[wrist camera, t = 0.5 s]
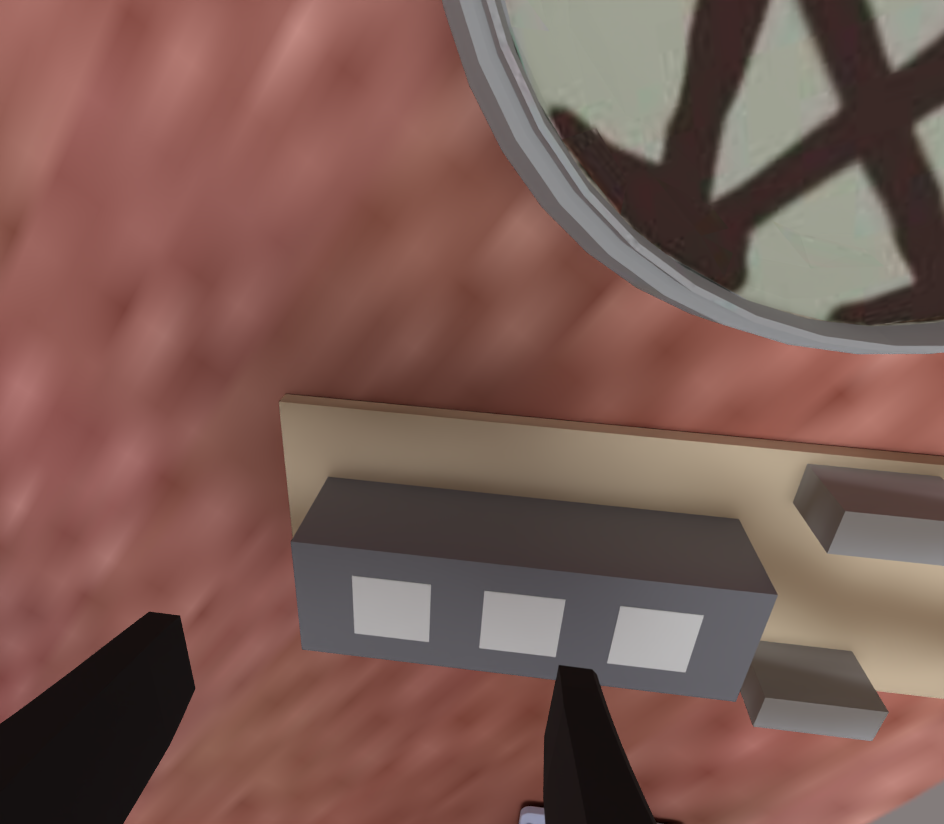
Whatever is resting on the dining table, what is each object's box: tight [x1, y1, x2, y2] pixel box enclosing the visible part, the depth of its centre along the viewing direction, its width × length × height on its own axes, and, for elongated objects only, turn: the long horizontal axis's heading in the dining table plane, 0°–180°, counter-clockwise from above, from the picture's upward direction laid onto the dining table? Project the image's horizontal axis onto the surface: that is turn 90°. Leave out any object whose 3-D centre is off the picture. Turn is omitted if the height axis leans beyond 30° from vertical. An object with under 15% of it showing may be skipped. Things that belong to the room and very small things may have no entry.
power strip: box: [291, 477, 778, 702], centre depth 19 cm, size 4×14×4 cm, turn 87°
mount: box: [279, 394, 944, 741], centre depth 20 cm, size 10×33×3 cm, turn 87°
